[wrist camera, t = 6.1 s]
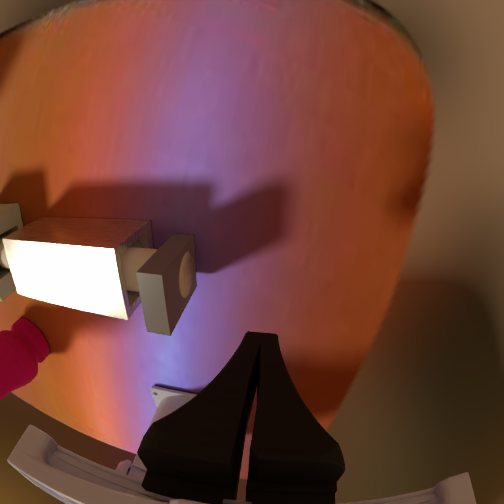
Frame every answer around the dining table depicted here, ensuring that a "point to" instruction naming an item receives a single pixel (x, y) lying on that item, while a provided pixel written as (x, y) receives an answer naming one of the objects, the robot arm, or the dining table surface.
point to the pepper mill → (20, 355)
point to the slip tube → (156, 279)
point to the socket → (3, 224)
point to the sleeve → (77, 262)
